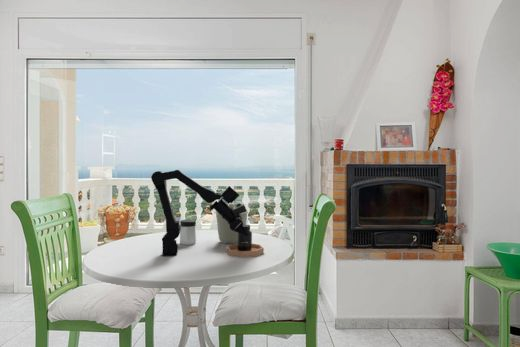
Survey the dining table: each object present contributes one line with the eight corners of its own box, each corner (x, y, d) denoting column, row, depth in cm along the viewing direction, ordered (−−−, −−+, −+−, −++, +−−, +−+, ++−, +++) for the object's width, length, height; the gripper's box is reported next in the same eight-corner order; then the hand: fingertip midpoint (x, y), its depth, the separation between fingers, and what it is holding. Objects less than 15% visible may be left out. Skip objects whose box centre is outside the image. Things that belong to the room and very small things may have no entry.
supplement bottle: (243, 252, 170) (243, 227, 169) (234, 249, 175) (234, 225, 174) (254, 250, 174) (254, 225, 174) (245, 247, 179) (245, 223, 179)
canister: (222, 237, 209) (222, 200, 208) (252, 239, 204) (252, 201, 203) (209, 244, 191) (209, 204, 190) (242, 246, 186) (242, 205, 186)
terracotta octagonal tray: (230, 257, 165) (230, 252, 165) (224, 249, 181) (224, 244, 181) (266, 255, 169) (266, 250, 169) (257, 247, 185) (257, 242, 185)
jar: (183, 245, 189) (182, 222, 188) (177, 242, 195) (177, 220, 195) (199, 243, 194) (199, 221, 193) (193, 240, 200) (192, 218, 200)
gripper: (237, 200, 164) (261, 224, 166) (236, 196, 183) (258, 218, 184) (219, 218, 164) (244, 242, 165) (220, 212, 182) (242, 234, 184)
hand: (247, 233), depth 175 cm, fingers open, 9 cm apart
